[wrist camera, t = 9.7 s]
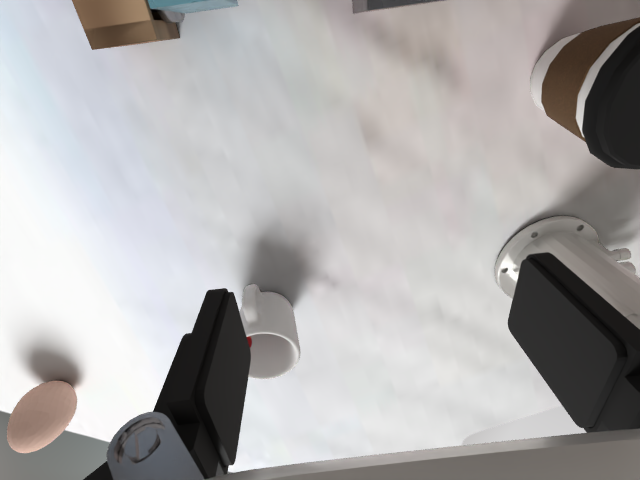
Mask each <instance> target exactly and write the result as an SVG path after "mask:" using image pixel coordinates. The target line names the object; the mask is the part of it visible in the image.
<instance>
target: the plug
mask: <svg viewBox="0 0 640 480" xmlns="http://www.w3.org/2000/svg"><path fill="white" fill-rule="evenodd" d="M148 4H149V7H150V10H151V12H158V14H159V15H160V17H161V18H162V19H163V20H164V21H165V22H166V23H175V22H182V21H183V20H184V17H185V13H192V12H199V11H206V10H213V9H221V8H228V7H235V6H238V2H237V0H148Z"/></svg>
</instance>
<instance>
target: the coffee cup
mask: <svg viewBox="0 0 640 480" xmlns="http://www.w3.org/2000/svg"><path fill="white" fill-rule="evenodd" d="M530 92H531V95H532V98H533V100H534V102H535V104H536V106H537V107H539V108H540V109H542V110H543V111H545V112H546V114H547V116H548V117H550V118H551V119H553V120H554V121H555V122H557V123H558V124H560V125H561V126H563V127H564V128H566V129H567V130H569V131H570V132H572V133H573V134H575V135H576V136H578V137H579V138H581V139H582V140H583V141H585V142H586V143H587V146H588V148H589V151H590V153H591V154H593V155H594V156H596V157H597V158H598V159H600V160H601V161H603V162H604V163H606V164H607V165H609V166H611V167H614V168H627V169H640V18H636V19H631V20H626V21H622V22H617V23H613V24H608V25H604V26H600V27H597V28H594V29H591V30H588V31H585V32H582V33H577V34H574V35H571V36H568V37H565V38H562V39H561V40H560V41H558V42H557V43H556V44H554V45H553V46H552V47H551V48H549V49H548V50H547V51H545V52H544V54H543V55H542V56H541V58H540V59H539V60H538V62H537V63H536V64H535V67H534V70H533V72H532V75H531V78H530Z"/></svg>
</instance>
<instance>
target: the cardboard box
mask: <svg viewBox="0 0 640 480" xmlns="http://www.w3.org/2000/svg"><path fill="white" fill-rule="evenodd" d="M72 2H73V4H74V7H75V9H76V11H77V14H78V16H79V19H80V21H81V24H82V26H83V29H84V31H85V33H86V36H87V38H88V41H89V43H90V46H91V48H92V50H94V49H102V48H111V47H119V46H127V45H134V44H141V43H149V42H156V41H163V40H170V39H177V38H180V37H179V33H178V30H177V26H176V23H166V22H165V21H164V20H163V19H162V18H161V17H160V15H159V14H158V12H151V10H150V7H149V4H148V0H72Z"/></svg>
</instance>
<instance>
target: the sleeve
mask: <svg viewBox="0 0 640 480" xmlns="http://www.w3.org/2000/svg"><path fill="white" fill-rule="evenodd" d="M352 1H353V13H360V12H367V11H374V10H381V9H389V8H396V7H403V6H410V5H417V4H424V3H431V2H438V1H445V0H352Z"/></svg>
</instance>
